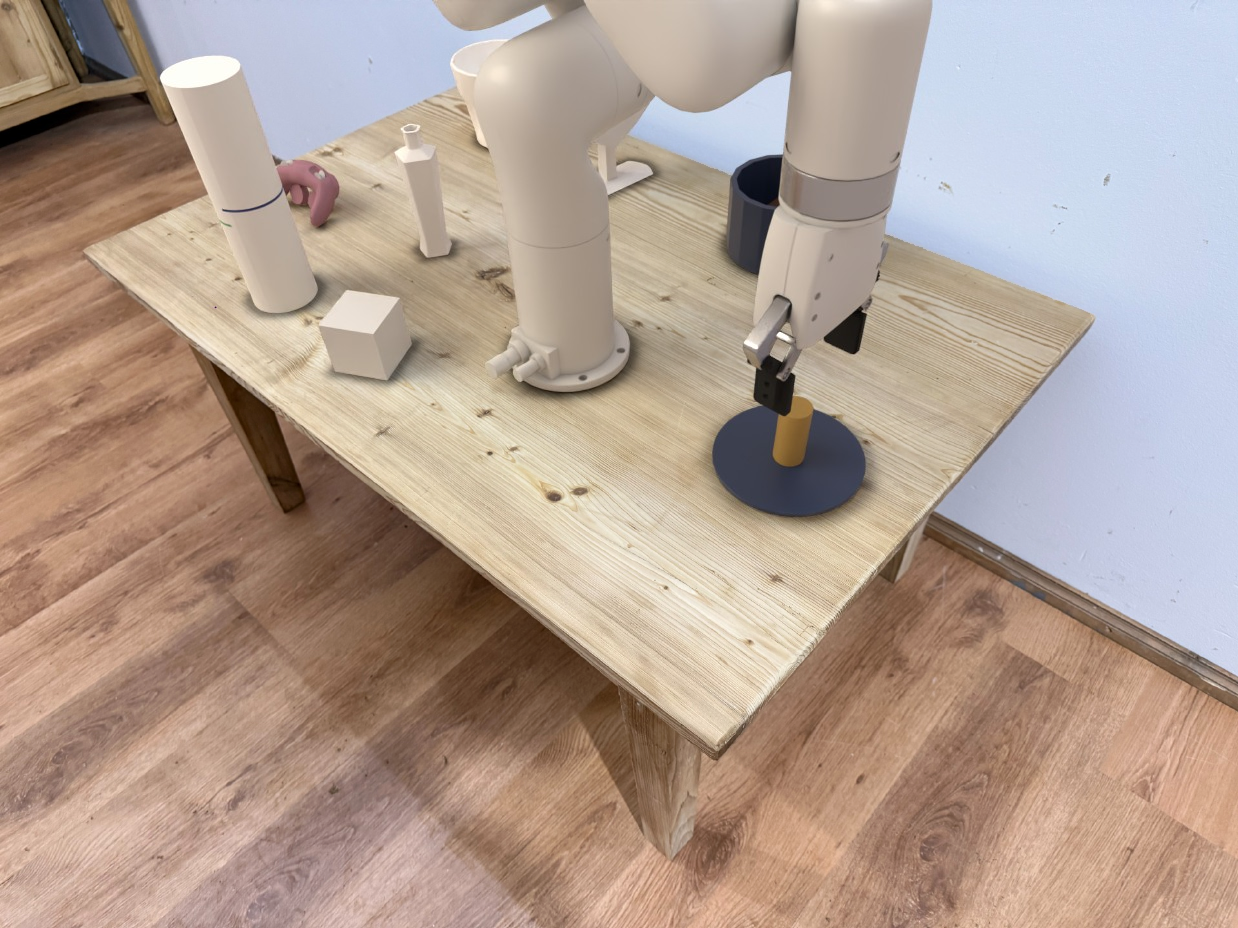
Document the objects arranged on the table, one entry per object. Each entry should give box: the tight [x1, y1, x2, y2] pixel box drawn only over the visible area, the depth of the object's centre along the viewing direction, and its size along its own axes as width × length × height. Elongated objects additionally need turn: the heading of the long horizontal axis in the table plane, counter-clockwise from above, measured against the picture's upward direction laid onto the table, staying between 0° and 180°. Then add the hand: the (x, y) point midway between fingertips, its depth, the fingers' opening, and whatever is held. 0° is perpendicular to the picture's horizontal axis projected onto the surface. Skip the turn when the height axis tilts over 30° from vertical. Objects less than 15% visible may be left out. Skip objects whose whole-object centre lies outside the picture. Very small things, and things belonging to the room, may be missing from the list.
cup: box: [449, 38, 511, 149], centre depth 117 cm, size 12×12×11 cm
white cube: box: [317, 289, 413, 381], centre depth 87 cm, size 6×6×6 cm
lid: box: [711, 395, 867, 519], centre depth 74 cm, size 14×14×7 cm
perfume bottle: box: [394, 123, 453, 259], centre depth 97 cm, size 5×4×15 cm
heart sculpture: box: [592, 102, 654, 196], centre depth 105 cm, size 16×5×18 cm, turn 131°
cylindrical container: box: [159, 55, 318, 314], centre depth 88 cm, size 7×7×25 cm
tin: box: [725, 153, 783, 276], centre depth 97 cm, size 12×12×8 cm
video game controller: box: [276, 159, 340, 227], centre depth 108 cm, size 10×5×7 cm, turn 58°
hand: (807, 375), depth 69 cm, fingers open, 9 cm apart
